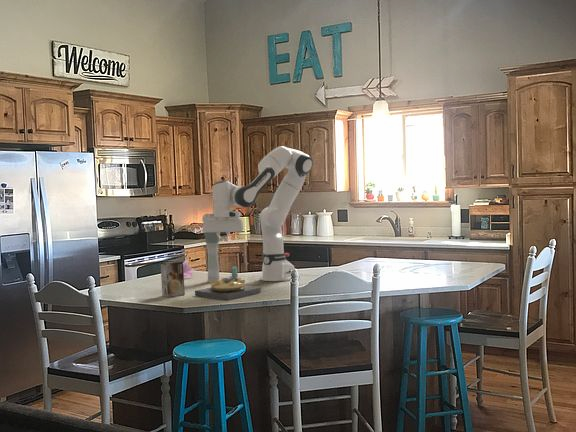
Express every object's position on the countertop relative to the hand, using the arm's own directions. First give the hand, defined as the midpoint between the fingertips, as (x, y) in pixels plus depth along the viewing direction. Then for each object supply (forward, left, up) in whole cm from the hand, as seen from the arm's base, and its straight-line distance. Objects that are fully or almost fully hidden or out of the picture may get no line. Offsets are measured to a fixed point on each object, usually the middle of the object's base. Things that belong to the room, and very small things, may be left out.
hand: (223, 241), depth 323 cm
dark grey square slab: (+9, +11, -24) cm, 28 cm away
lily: (-15, -48, -24) cm, 56 cm away
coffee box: (+24, -11, -24) cm, 36 cm away
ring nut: (+6, +9, -21) cm, 24 cm away
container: (-15, -24, -24) cm, 37 cm away
